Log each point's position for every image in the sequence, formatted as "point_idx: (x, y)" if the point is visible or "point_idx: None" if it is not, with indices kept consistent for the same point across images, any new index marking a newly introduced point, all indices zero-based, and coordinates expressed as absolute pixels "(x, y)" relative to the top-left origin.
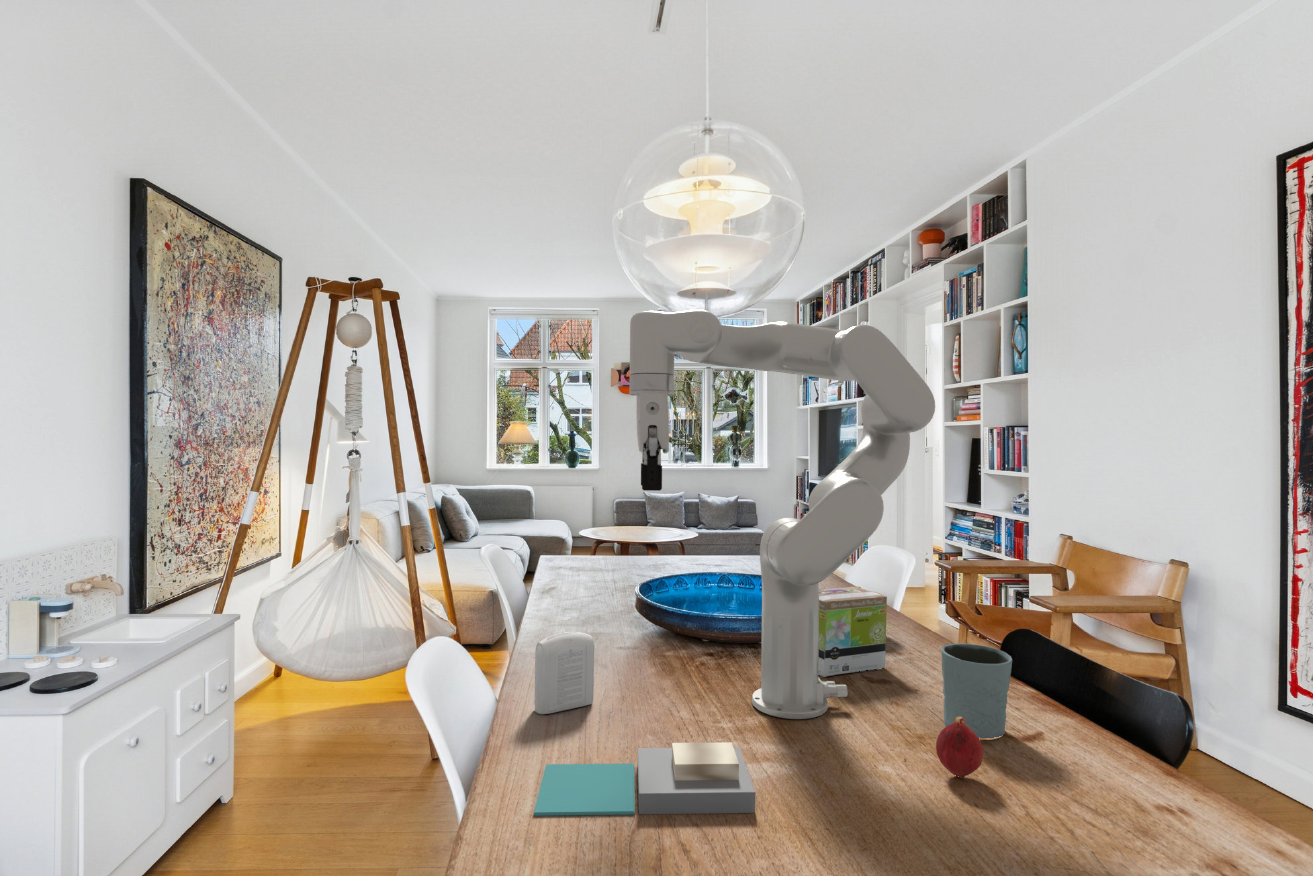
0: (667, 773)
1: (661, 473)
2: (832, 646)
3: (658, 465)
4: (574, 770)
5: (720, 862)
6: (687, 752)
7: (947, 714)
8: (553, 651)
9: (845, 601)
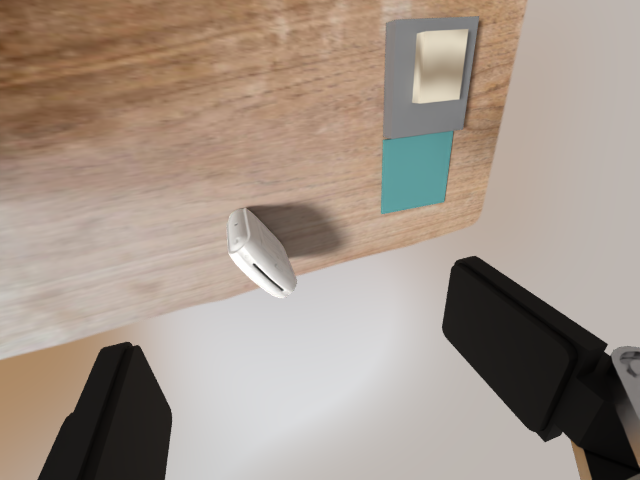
0: (438, 106)
1: (549, 309)
2: None
3: (623, 358)
4: (393, 189)
5: (512, 60)
6: (440, 86)
7: None
8: (292, 273)
9: None
